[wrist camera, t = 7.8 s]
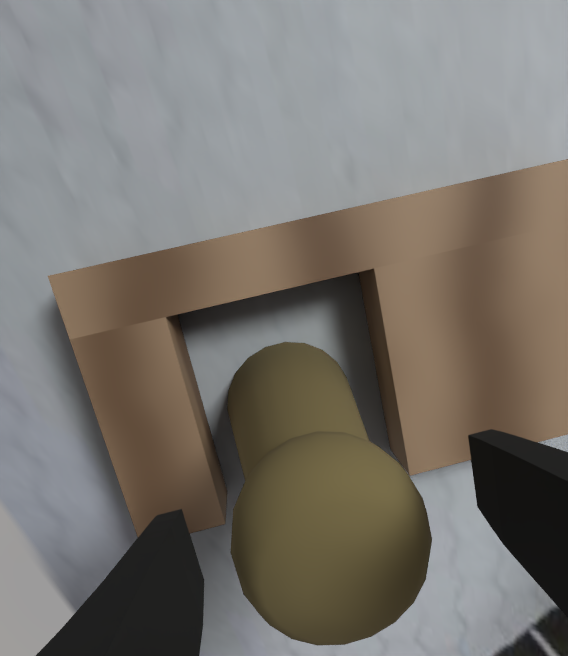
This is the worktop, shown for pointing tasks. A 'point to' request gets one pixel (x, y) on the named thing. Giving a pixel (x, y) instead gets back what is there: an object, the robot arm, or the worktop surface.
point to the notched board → (382, 317)
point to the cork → (319, 504)
